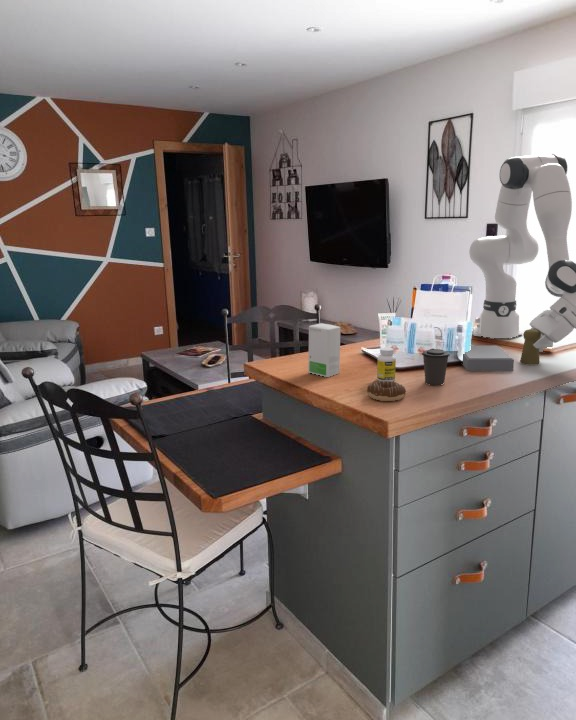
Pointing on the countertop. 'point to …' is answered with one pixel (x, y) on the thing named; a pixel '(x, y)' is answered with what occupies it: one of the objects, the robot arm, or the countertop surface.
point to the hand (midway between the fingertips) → (529, 343)
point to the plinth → (487, 359)
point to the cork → (530, 348)
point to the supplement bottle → (386, 365)
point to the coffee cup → (435, 366)
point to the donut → (386, 391)
